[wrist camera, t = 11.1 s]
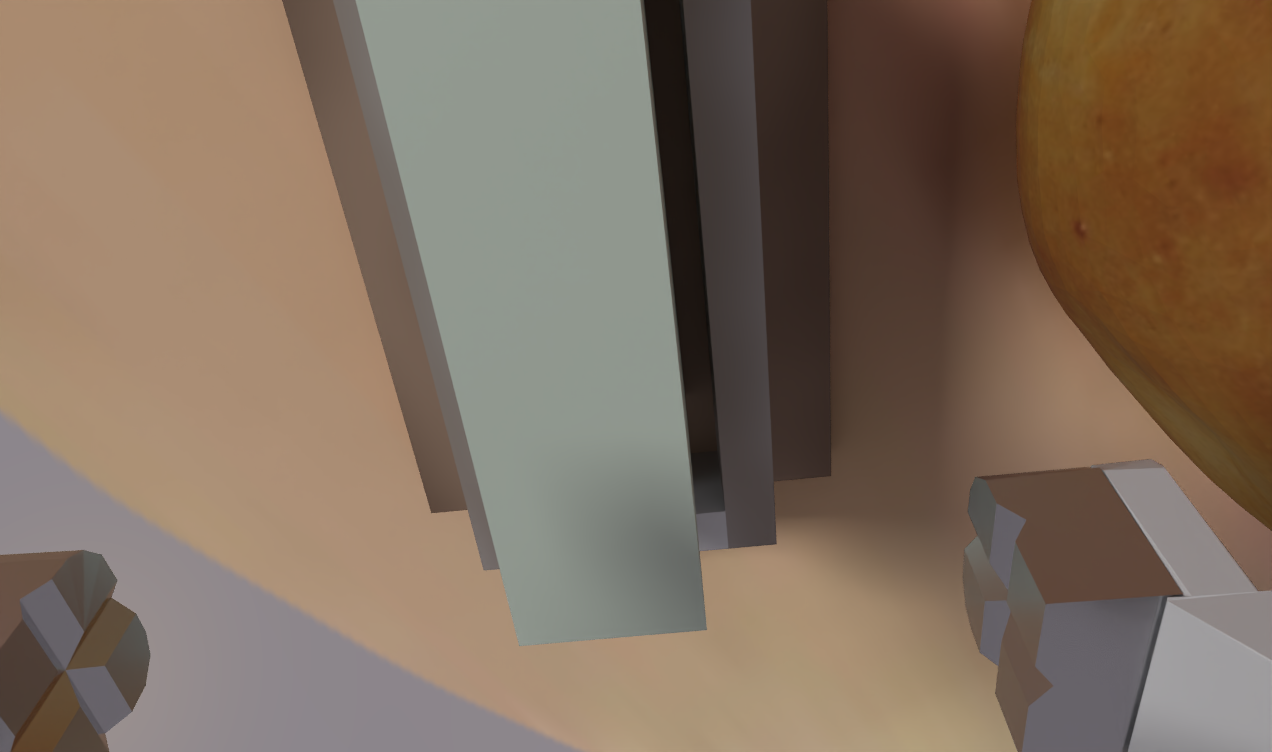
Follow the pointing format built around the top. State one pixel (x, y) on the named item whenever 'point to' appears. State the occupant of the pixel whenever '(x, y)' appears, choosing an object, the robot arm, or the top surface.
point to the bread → (1161, 210)
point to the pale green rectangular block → (552, 297)
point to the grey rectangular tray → (698, 237)
